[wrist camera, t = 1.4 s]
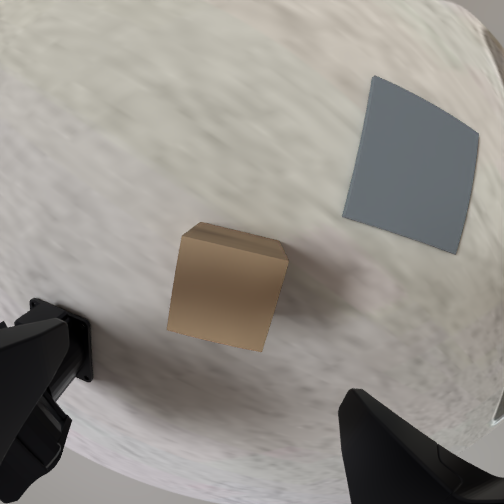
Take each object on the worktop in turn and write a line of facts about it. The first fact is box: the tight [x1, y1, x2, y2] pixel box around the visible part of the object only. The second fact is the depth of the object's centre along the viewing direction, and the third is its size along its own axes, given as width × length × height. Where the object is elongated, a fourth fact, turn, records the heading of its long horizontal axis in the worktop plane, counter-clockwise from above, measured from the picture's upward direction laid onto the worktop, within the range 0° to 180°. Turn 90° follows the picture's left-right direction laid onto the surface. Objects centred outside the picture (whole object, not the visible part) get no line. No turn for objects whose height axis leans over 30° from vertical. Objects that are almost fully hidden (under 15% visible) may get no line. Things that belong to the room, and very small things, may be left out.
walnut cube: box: [167, 222, 289, 352], centre depth 16 cm, size 5×5×5 cm
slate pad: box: [342, 76, 479, 254], centre depth 16 cm, size 10×10×1 cm
